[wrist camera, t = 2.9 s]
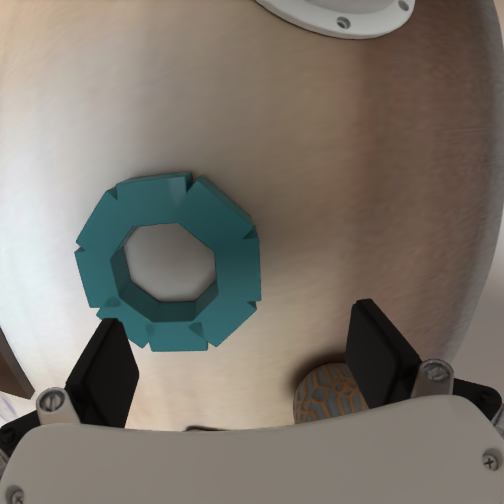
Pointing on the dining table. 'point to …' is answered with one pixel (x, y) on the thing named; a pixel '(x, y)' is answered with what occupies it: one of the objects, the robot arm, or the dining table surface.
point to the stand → (12, 373)
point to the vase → (327, 394)
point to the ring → (199, 225)
